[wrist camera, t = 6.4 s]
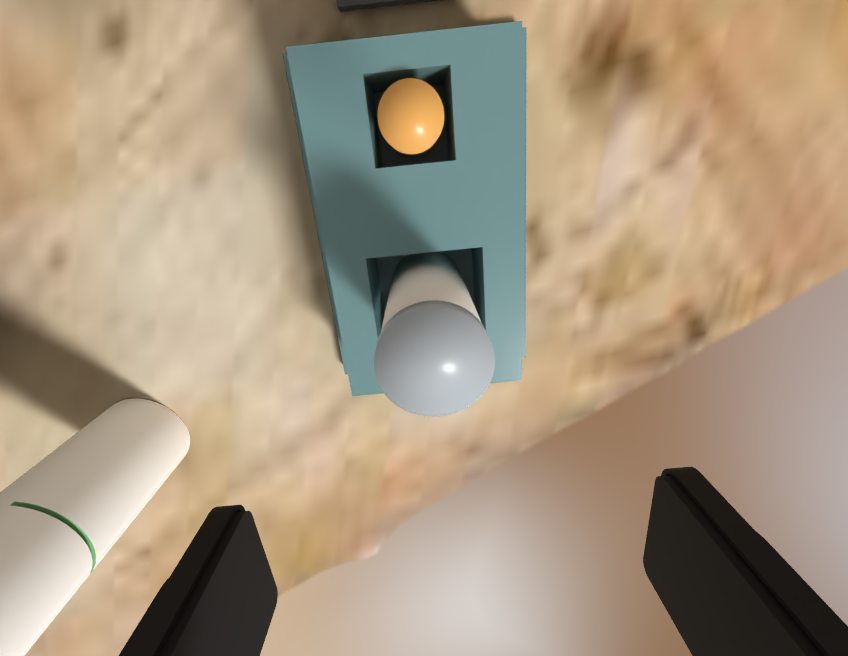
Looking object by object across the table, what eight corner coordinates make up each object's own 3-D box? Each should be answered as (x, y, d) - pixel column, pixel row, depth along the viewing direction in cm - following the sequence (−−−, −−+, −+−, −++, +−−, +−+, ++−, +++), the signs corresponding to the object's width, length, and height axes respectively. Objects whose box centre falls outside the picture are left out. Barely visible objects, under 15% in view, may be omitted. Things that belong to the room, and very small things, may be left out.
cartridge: (386, 252, 27) (365, 314, 16) (460, 245, 27) (493, 302, 15) (395, 321, 29) (382, 421, 17) (464, 315, 29) (496, 411, 17)
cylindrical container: (88, 401, 32) (-759, 1005, 9) (175, 395, 32) (-454, 986, 9) (120, 470, 35) (-467, 1070, 12) (200, 464, 35) (-232, 1057, 12)
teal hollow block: (288, 58, 23) (248, 24, 18) (522, 32, 23) (555, -10, 18) (347, 368, 31) (332, 411, 26) (522, 351, 31) (545, 391, 26)
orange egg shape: (380, 97, 22) (372, 81, 18) (437, 91, 22) (441, 74, 18) (388, 158, 23) (382, 156, 19) (441, 153, 23) (446, 150, 19)
